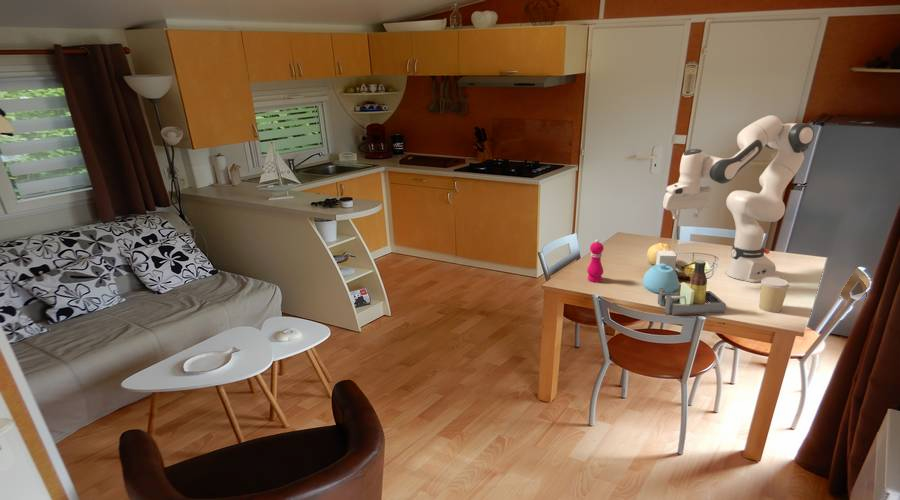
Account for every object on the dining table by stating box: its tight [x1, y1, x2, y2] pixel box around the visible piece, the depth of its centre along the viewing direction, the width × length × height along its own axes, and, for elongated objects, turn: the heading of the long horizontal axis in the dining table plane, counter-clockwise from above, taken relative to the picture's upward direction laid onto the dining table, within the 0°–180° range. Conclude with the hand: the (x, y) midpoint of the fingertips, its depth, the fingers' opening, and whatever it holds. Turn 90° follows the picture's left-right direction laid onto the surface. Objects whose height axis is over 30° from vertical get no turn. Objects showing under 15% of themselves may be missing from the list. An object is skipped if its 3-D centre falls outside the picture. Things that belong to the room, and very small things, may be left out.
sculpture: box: [646, 242, 673, 266], centre depth 256 cm, size 12×12×11 cm
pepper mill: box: [586, 239, 605, 283], centre depth 239 cm, size 7×7×20 cm
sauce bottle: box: [689, 259, 708, 304], centre depth 209 cm, size 6×6×20 cm
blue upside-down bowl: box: [642, 263, 680, 294], centre depth 229 cm, size 15×15×12 cm
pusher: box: [665, 281, 695, 305], centre depth 211 cm, size 9×9×9 cm
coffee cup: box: [758, 277, 790, 314], centre depth 207 cm, size 9×9×12 cm
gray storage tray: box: [657, 288, 727, 316], centre depth 211 cm, size 22×12×7 cm, turn 91°
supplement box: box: [656, 250, 677, 272], centre depth 239 cm, size 7×7×13 cm
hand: (685, 218), depth 228 cm, fingers open, 8 cm apart
